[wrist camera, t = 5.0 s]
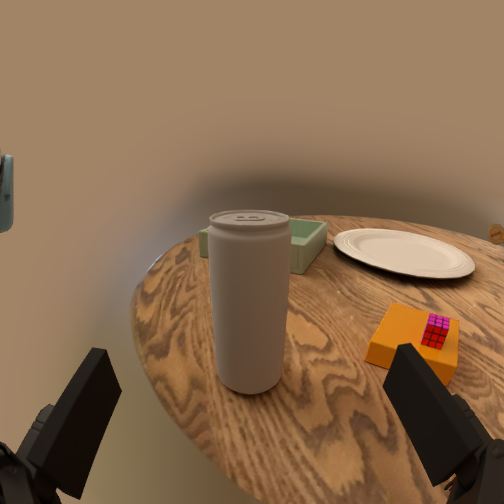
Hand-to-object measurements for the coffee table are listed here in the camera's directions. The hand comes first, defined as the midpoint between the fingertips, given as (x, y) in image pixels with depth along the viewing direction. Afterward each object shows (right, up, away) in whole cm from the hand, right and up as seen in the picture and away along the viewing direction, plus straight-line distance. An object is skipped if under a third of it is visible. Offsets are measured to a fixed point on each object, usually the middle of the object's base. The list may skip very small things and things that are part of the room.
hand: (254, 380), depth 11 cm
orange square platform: (+15, -4, +10) cm, 18 cm away
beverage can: (0, -4, +9) cm, 10 cm away
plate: (+29, +4, +35) cm, 46 cm away
